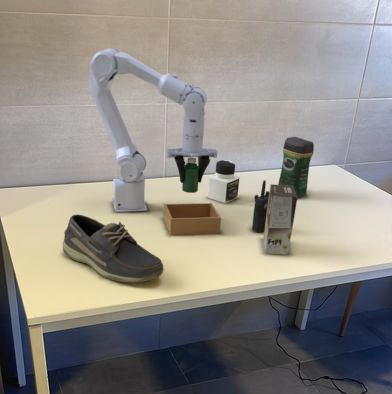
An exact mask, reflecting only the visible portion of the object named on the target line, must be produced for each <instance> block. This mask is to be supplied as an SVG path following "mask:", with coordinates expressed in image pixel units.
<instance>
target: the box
mask: <svg viewBox="0 0 392 394" xmlns="http://www.w3.org/2000/svg"><path fill="white" fill-rule="evenodd" d="M163 222H164V224H165V226H166V228H167V231H168V233H169V235H170V236H181V235H183V236H184V235H213V234H214V235H215V234H217V235H219V234H221V225H222V217H221V215H220V213H219V212H218V211H217V209H216V207H215V206H214V204H213V203H212V202H203V203H202V202H195V203H194V202H193V203H192V202H191V203H164V204H163Z"/></svg>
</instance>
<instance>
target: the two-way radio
mask: <svg viewBox="0 0 392 394" xmlns="http://www.w3.org/2000/svg"><path fill="white" fill-rule="evenodd" d="M266 185H267V180H264V179H263V181H262V186H261V191H260V195H258V194H255V195H254V197H253V200H254V206H253V214H252V215H253V216H252V224H251V225H252V226H251V228H252V229H251V230H252V231H253V232H256V233H261V232H264V230H265V222H266V215H267V207H268V200H269V192H270V190H269V191H268V190H267V191H266Z"/></svg>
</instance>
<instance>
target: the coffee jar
mask: <svg viewBox="0 0 392 394" xmlns="http://www.w3.org/2000/svg"><path fill="white" fill-rule="evenodd" d="M314 148H315V144H314V142H313V141H311V140H307V139H304V138H302V137H298V136H291V137H287V138H285V141H284V144H283V147H282V152H283V153H282V154H283V159H282V165H281V170H280V174H279V179H278V184H277V185H291V186H294V189H295V191H296V194H297V197H298V198H297V199H300V198H304V197H305V196H307V194H308V193H307V192H308V185H309V184H308V183H309V182H308V181H309V172H310V165H311V160H312V157H313V156H314V152H315V149H314Z"/></svg>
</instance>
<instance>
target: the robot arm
mask: <svg viewBox="0 0 392 394" xmlns="http://www.w3.org/2000/svg"><path fill="white" fill-rule="evenodd" d="M88 69H89V82H88V84H89V85H88V89H89V93H90V94H91V97H92V99H93V102H94V103H95V106H96V108H97V110H98V113H99V115H100V118H101V120H102V122H103V124H104V127H105V128H106V131H107V133H108V136H109V138H110V140H111V143H112V145H113V147H114V149H115V154H116V155H115V158H116V162H117V165H118V169H117V170H118V174H119V177H118V178H113V180H112V193H113V194H112V195H113V196H112V204H113V208H114V211H115V212H116V213H119V212H121V213H122V212H123V213H124V212H148V208H147V205H146V203H145V197H146V196H145V195H146V194H145V192H146V191H145V190H146V184H145V183H146V176H145V174H144V172H143V171H145V169H146V167H147V160H146V157H145V156H144V154H142V153H141V152H140V150H139V148H138V146H136V144H134V143H133V141H132V139H131V136H130V134H129V131H128V129H127V127H126V124H125V122H124V119H123V117H122V115H121V111H119V108H118V105H117V103H116V100H115V98H114V96H113V93H112V92H111V86H112V84H113V81H114V78H115V77H116V76H118V75H126V74H127V75H128V74H130V75H132V76H134V77H136V78H138V79H141V80H143V81H144V82H147V83H148V84H151V85H153V86H154V87H156V88H157V90H158V93H159V94H160V95H161V96H163V97H165V98H167V99H169V100H170V101H173V102H174V103H176V104H178V105H179V106H181V105H182V107H183V108H184V116H183V127H182V143H181V144H182V145H181V146H182V147H178V148H177V147H176V148H166V150H165V156H166V158H167V159H172V158H173V159H174V161H175V164H176V167H177V170H178V175H179V181H180V183H181V184H183V183H184V167H185V165H186V160H185V158H190V157H192V158H197V166H199V179H198V184H199V183H202V180H203V177H204V174H205V171H206V170H207V167H208V166H209V165H210V163H211V159H210V158H214V159H218V153H219V152H218V149H215V148H204V147H203V146H204V145H203V144H204V131H205V113H206V112H205V106H206V104H207V98H208V97H207V94H206V92H205V90H203V89H202V88H201V87H200V86H194V83H188V82H186V81H184V80H182V79H180V78H179V75H178V74H176V73H174V72H173V74H172V73H166V74H161V73H160V72H158V71H156V70H154V69H153V68H151V67H150V66H148V65H147V64H145V63H143V62H141V61H140V60H139V59H137V58H135V57H134V56H132V55H130V54H128V53H126V52H124V51H121V50H119V49H117V48H116V47H107V48H105V49H104V50H100V51H98V52H96V53H94V55H93V57H92V58H91V61H90V62H89V65H88Z"/></svg>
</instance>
